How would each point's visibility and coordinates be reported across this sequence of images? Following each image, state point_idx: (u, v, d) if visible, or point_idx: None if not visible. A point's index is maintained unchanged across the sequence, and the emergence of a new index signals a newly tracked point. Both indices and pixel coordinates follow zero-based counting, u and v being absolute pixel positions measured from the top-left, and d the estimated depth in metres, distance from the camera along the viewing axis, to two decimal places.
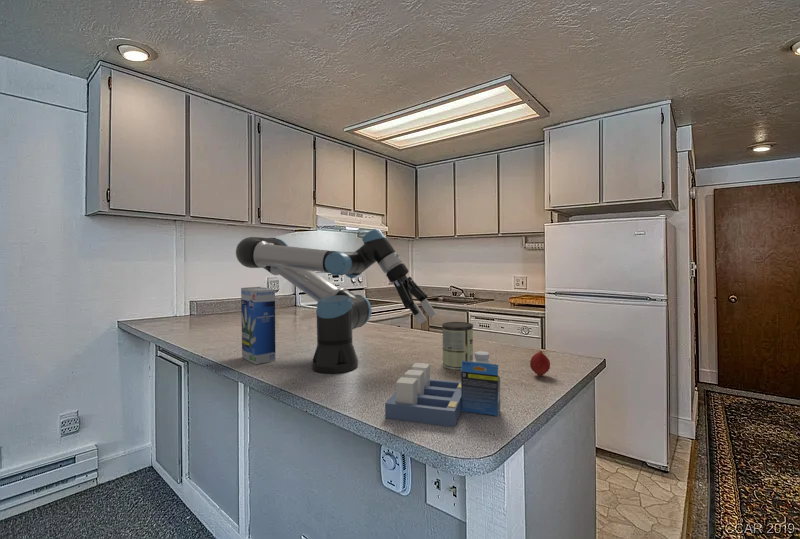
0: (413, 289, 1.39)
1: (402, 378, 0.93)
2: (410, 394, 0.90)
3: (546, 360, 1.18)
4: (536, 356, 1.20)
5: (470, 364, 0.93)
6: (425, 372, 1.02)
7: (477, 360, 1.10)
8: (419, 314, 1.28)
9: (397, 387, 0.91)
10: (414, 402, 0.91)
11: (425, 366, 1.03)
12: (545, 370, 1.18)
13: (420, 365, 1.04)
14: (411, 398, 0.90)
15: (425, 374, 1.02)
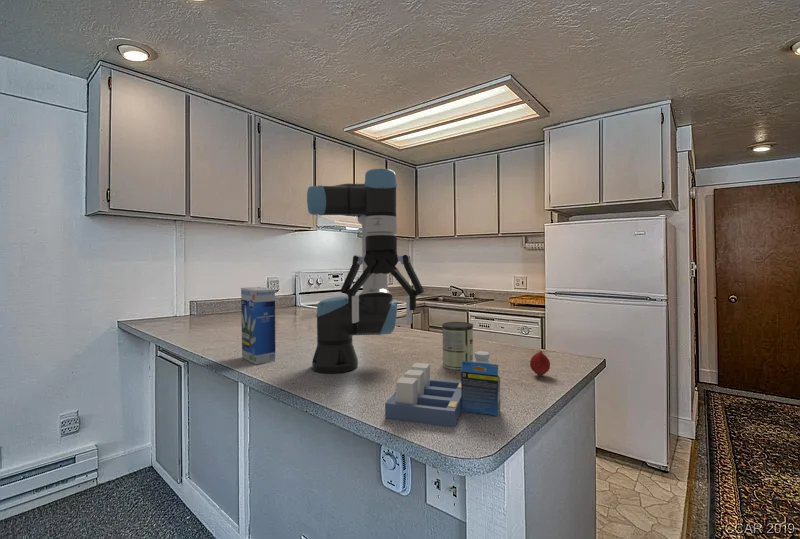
0: None
1: (402, 378, 0.93)
2: (410, 394, 0.90)
3: (546, 360, 1.18)
4: (536, 356, 1.20)
5: (470, 364, 0.93)
6: (425, 372, 1.02)
7: (477, 360, 1.10)
8: None
9: (397, 387, 0.91)
10: (414, 402, 0.91)
11: (425, 366, 1.03)
12: (545, 370, 1.18)
13: (420, 365, 1.04)
14: (411, 398, 0.90)
15: (425, 374, 1.02)
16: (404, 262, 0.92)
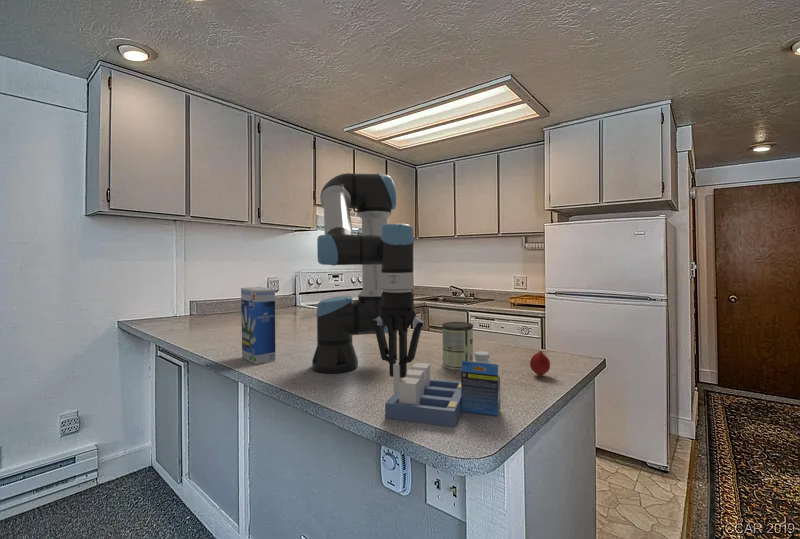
0: None
1: (405, 378, 0.93)
2: (413, 394, 0.90)
3: (546, 360, 1.18)
4: (536, 356, 1.20)
5: (470, 364, 0.93)
6: (425, 372, 1.02)
7: (477, 360, 1.10)
8: None
9: (399, 388, 0.91)
10: (417, 402, 0.91)
11: (425, 366, 1.03)
12: (545, 370, 1.18)
13: (420, 365, 1.04)
14: (414, 398, 0.90)
15: (425, 374, 1.02)
16: (416, 328, 0.89)
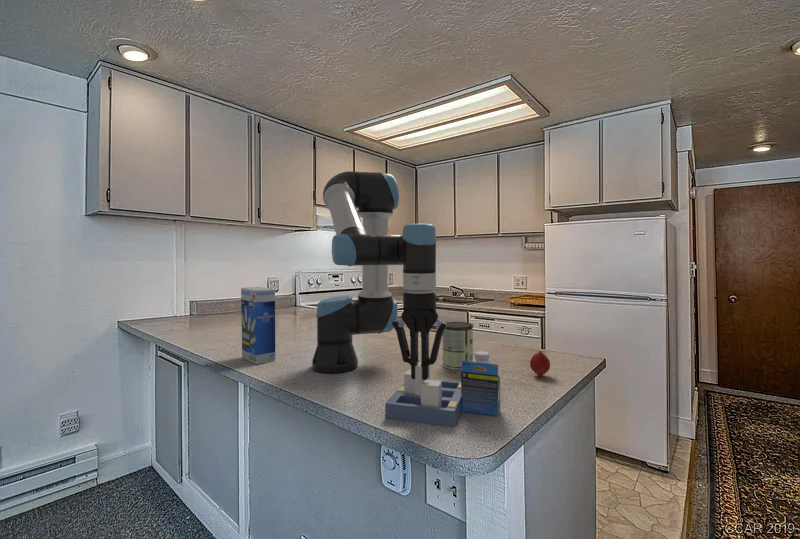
0: None
1: (426, 380, 0.92)
2: (435, 397, 0.88)
3: (546, 360, 1.18)
4: (536, 356, 1.20)
5: (470, 364, 0.93)
6: None
7: (477, 360, 1.10)
8: None
9: (421, 390, 0.89)
10: (439, 405, 0.89)
11: None
12: (545, 370, 1.18)
13: None
14: (436, 401, 0.88)
15: None
16: (439, 329, 0.88)
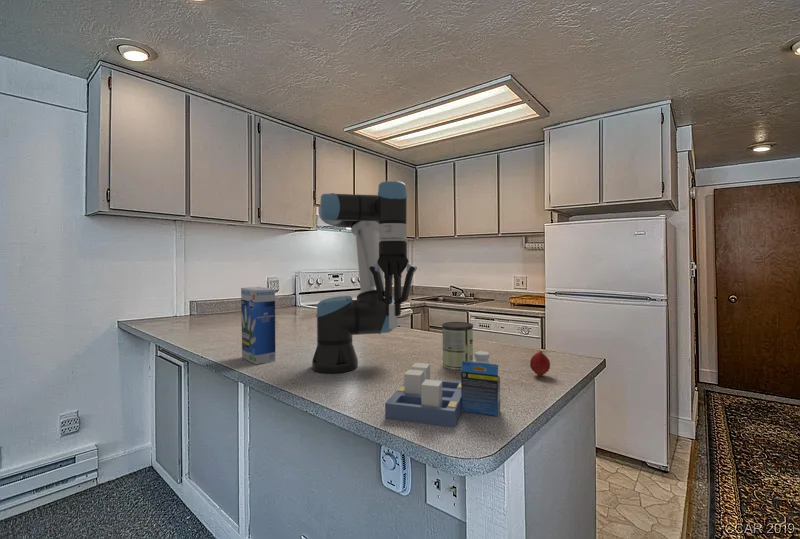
0: None
1: (427, 380, 0.92)
2: (436, 397, 0.88)
3: (546, 360, 1.18)
4: (536, 356, 1.20)
5: (470, 364, 0.93)
6: (425, 372, 1.02)
7: (477, 360, 1.10)
8: None
9: (422, 390, 0.89)
10: (439, 405, 0.89)
11: (425, 366, 1.03)
12: (545, 370, 1.18)
13: (420, 365, 1.04)
14: (437, 401, 0.88)
15: (425, 374, 1.02)
16: (408, 271, 1.03)
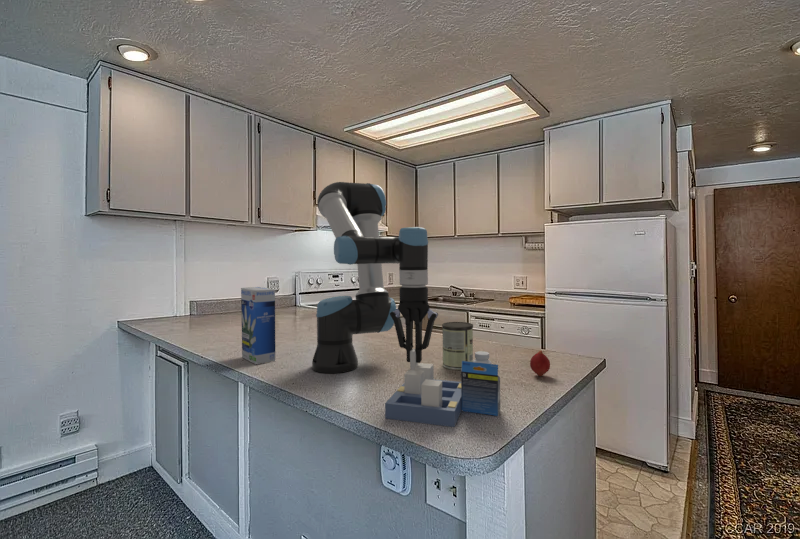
0: None
1: (427, 380, 0.92)
2: (436, 397, 0.88)
3: (546, 360, 1.18)
4: (536, 356, 1.20)
5: (470, 364, 0.93)
6: (429, 372, 1.02)
7: (477, 360, 1.10)
8: None
9: (422, 390, 0.89)
10: (439, 405, 0.89)
11: (429, 366, 1.03)
12: (545, 370, 1.18)
13: (424, 365, 1.04)
14: (437, 401, 0.88)
15: (429, 374, 1.02)
16: (430, 318, 1.02)
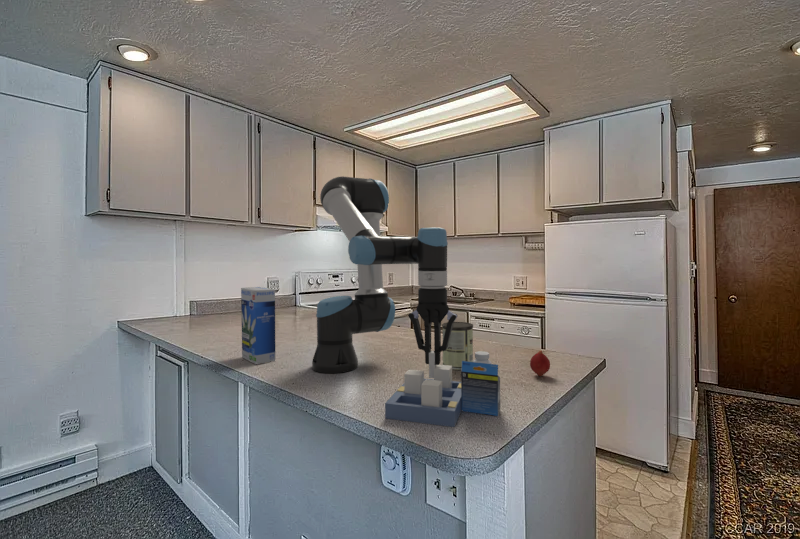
0: None
1: (427, 380, 0.92)
2: (436, 397, 0.88)
3: (546, 360, 1.18)
4: (536, 356, 1.20)
5: (470, 364, 0.93)
6: (448, 374, 1.00)
7: (477, 360, 1.10)
8: None
9: (422, 390, 0.89)
10: (439, 405, 0.89)
11: (448, 368, 1.02)
12: (545, 370, 1.18)
13: (443, 367, 1.03)
14: (437, 401, 0.88)
15: (448, 376, 1.00)
16: (450, 320, 1.00)
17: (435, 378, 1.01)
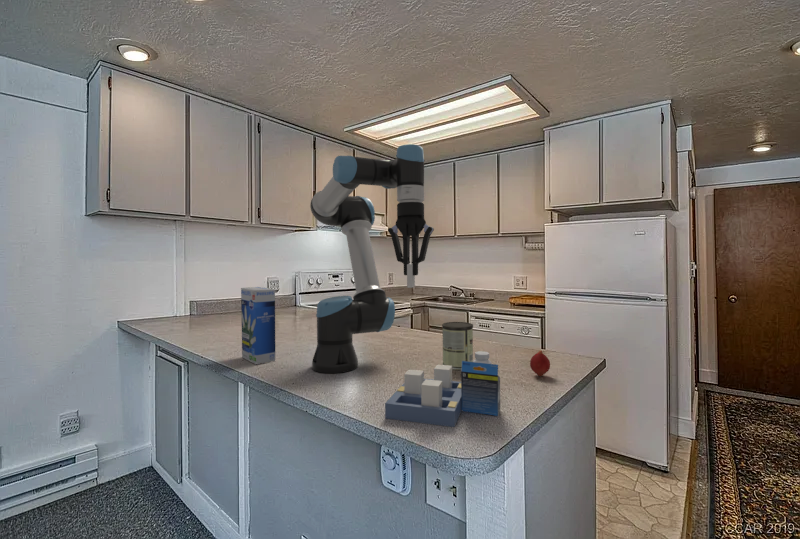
0: None
1: (427, 380, 0.92)
2: (436, 397, 0.88)
3: (546, 360, 1.18)
4: (536, 356, 1.20)
5: (470, 364, 0.93)
6: (448, 374, 1.00)
7: (477, 360, 1.10)
8: None
9: (422, 390, 0.89)
10: (439, 405, 0.89)
11: (448, 368, 1.02)
12: (545, 370, 1.18)
13: (443, 367, 1.03)
14: (437, 401, 0.88)
15: (448, 376, 1.00)
16: (426, 232, 1.07)
17: (435, 378, 1.01)
